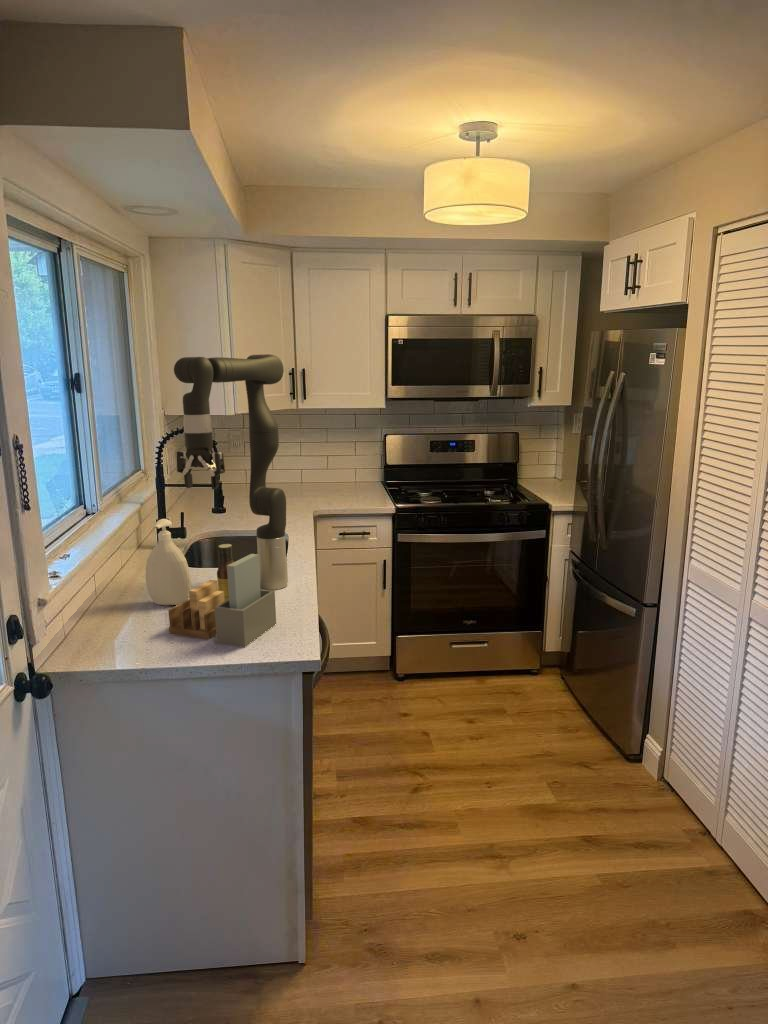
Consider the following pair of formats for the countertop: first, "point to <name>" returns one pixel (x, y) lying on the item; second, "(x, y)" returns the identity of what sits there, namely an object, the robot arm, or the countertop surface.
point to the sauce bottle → (224, 568)
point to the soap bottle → (167, 570)
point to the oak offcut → (201, 594)
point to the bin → (245, 620)
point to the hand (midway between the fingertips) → (202, 488)
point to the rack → (183, 623)
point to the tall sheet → (244, 582)
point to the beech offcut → (209, 605)
